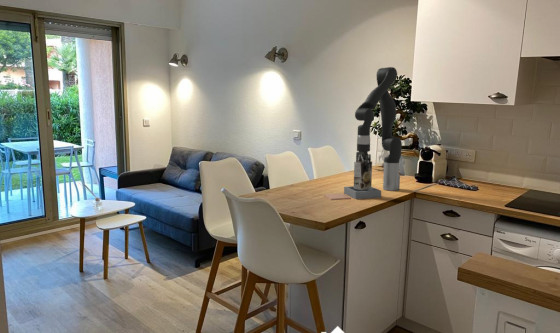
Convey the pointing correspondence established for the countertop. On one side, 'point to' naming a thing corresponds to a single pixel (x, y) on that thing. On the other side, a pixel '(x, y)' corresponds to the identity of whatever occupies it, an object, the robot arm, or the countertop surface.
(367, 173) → the coffee box
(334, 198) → the coaster
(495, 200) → the countertop surface
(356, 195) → the grey square tray
